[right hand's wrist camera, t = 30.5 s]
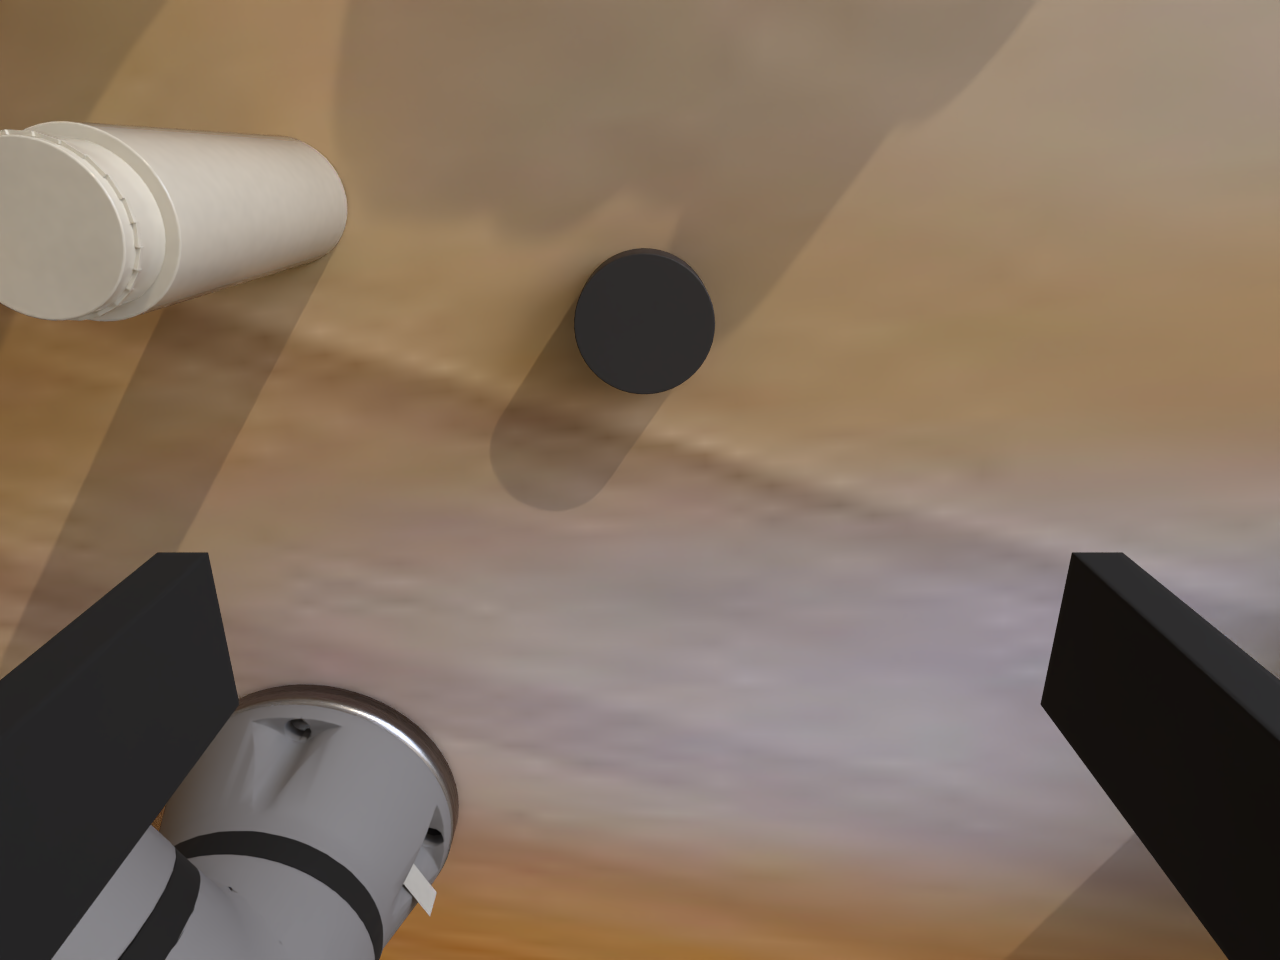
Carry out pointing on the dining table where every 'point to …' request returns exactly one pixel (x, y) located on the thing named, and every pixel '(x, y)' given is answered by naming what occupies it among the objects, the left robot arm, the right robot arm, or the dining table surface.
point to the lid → (644, 321)
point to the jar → (154, 215)
